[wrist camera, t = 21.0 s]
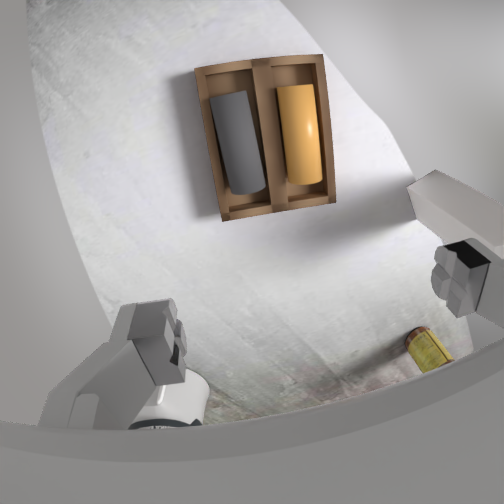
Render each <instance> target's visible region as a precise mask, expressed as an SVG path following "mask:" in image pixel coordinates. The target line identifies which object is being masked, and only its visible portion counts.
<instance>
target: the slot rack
mask: <svg viewBox="0 0 504 504" xmlns="http://www.w3.org/2000/svg"><path fill="white" fill-rule="evenodd" d="M194 70H195V76H196V82H197V88H198V93H199V99H200V105H201V111H202V116H203V122H204V127H205V133H206V138H207V144H208V149H209V155H210V160H211V165H212V171H213V176H214V181H215V187H216V192H217V197H218V202H219V207H220V213H221V218H222V222H224V221H229V220H235V219H241V218H246V217H252V216H258V215H263V214H269V213H275V212H281V211H287V210H293V209H299V208H305V207H311V206H318V205H324V204H331V203H336V187H335V169H334V155H333V142H332V130H331V119H330V109H329V100H328V91H327V82H326V74H325V66H324V59H323V54H314V55H294V56H281V57H269V58H260V59H251V60H243V61H236V62H229V63H222V64H216V65H210V66H205V67H199V68H194ZM310 84H313V88H314V96H315V104H316V113H317V123H318V133H319V143H320V155H321V167H322V180H321V181H320V182H317V183H314V184H307V185H297V184H292V183H289V182H288V174H287V166H286V157H285V149H284V140H283V132H282V125H281V117H280V109H279V102H278V95H277V88H276V87H286V86H297V85H310ZM241 91H246V92H247V96H248V101H249V106H250V110H251V115H252V120H253V125H254V130H255V134H256V139H257V144H258V149H259V154H260V159H261V164H262V169H263V174H264V179H265V184H266V186H265V188H263V189H262V190H260V191H258V192H255V193H251V194H246V195H234V194H232V193H231V190H230V185H229V181H228V177H227V173H226V168H225V164H224V160H223V156H222V151H221V147H220V143H219V139H218V134H217V130H216V126H215V121H214V117H213V113H212V109H211V104H210V100H209V98H213V97H217V96H222V95H226V94H231V93H236V92H241Z"/></svg>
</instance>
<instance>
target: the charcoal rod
mask: <svg viewBox="0 0 504 504" xmlns="http://www.w3.org/2000/svg"><path fill="white" fill-rule="evenodd" d="M209 100H210V104H211V109H212V113H213V117H214V121H215V126H216V130H217V134H218V139H219V143H220V147H221V151H222V156H223V160H224V164H225V168H226V173H227V177H228V181H229V185H230V190H231V193H232V194H234V195H246V194H251V193H255V192H258V191H260V190H262V189H263V188H265V186H266V184H265V179H264V174H263V169H262V164H261V159H260V154H259V149H258V144H257V139H256V134H255V130H254V125H253V120H252V115H251V110H250V106H249V101H248V96H247V92H246V91H241V92H236V93H231V94H226V95H222V96H217V97H213V98H209Z"/></svg>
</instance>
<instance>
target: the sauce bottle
mask: <svg viewBox="0 0 504 504" xmlns="http://www.w3.org/2000/svg"><path fill="white" fill-rule="evenodd" d="M405 345H406V348H407V349H408V352H409V354H410V355H411V356H412V358H413V359H414V361H415V362H416V364H417V365H418V367H419V369H420V370H421V371H422V373H426V372H428V371H431V370H433V369H436V368H439V367H441V366H443V365H446V364H448V363H451V362H453V361H455V360H454V359H453V358H452V356H451V355H450V354H449V353H448V351H447V350H446V349H445V347H444V346H443V345H442V344H441V342H440V341H439V340H438V338H437V337H436V336H435V335H434V334H433V332H432V331H430V329H429V328H427V327H419V328H417V329H415V330H414V331H412V332H411V333H410V334H409V335H408V337H407V339H406V342H405Z"/></svg>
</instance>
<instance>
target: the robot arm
mask: <svg viewBox="0 0 504 504" xmlns="http://www.w3.org/2000/svg"><path fill="white" fill-rule="evenodd" d="M434 259H435V261H436V263H437V264H436V266H435V267H434V269H433V270H432V276H431V283H432V288H433V290H434V292H435V294H436V295H437V296H438V297H439V298H441V299H443V300H446V306H447V307H448V309H449V310H450V311H451V312H452V313H453V314H454V315H455V317H456V318H459V317H462V316H465V315H468V314H471V313H474V312H476V313H477V314H479V315H480V316H482V317H484V318H486V319H488V320H489V321H491V322H493V323H495V324H496V325H498V326H500V327H502V328H504V259H501V258H500V257H499V256H498V255H496V254H495V253H494V252H493V251H491V250H490V249H489V248H487V247H486V246H485V245H483V244H482V243H481V242H479V241H478V240H477V239H475V238H468V239H465V240H461V241H459V242H455V243H451V244H447V245H443V246H439V247H437V249H436V251H435V257H434ZM186 353H187V342H186V335H185V331H184V327H183V324H182V322H181V321H179V320H178V319H177V308H176V305H175V302H174V300H173V299H172V298H169V299H162V300H154V301H147V302H140V303H132V304H126V305H123V306H121V307H120V310H119V313H118V316H117V318H116V321H115V324H114V327H113V330H112V333H111V336H110V339H109V342H106V343H103V344H102V345H101V346H100V347H99V348H98V349H96V350H95V351H94V352H93V353H92V354H91V355H90V356H89V357H88V358H86V359H85V360H84V361H83V362H82V363H81V364H80V365H79V366H78V367H76V368H75V369H74V370H73V371H72V372H71V373H70V374H69V375H68V376H67V377H66V378H65V379H63V380H62V381H61V382H60V383H59V384H58V385H57V386H56V387H55V388H53V389H52V390H51V391H50V392H49V395H48V397H47V400H46V403H45V406H44V408H43V411H42V414H41V417H40V420H39V423H38V426H36V425H27V424H19V423H13V422H6V421H0V504H504V338H502V339H500V340H498V341H497V342H494V343H492V344H490V345H488V346H486V347H484V348H482V349H480V350H478V351H476V352H473V353H471V354H469V355H467V356H465V357H462V358H460V359H458V360H455V361H453V362H451V363H448V364H446V365H443V366H441V367H439V368H436V369H433V370H431V371H428V372H426V373H423V374H420V375H418V376H415V377H412V378H410V379H407V380H404V381H401V382H398V383H395V384H392V385H389V386H386V387H383V388H380V389H377V390H373V391H370V392H367V393H364V394H360V395H357V396H353V397H350V398H346V399H342V400H338V401H335V402H331V403H327V404H323V405H319V406H314V407H310V408H306V409H301V410H296V411H292V412H287V413H282V414H277V415H271V416H266V417H260V418H254V419H247V420H241V421H234V422H226V423H219V424H210V425H203V417H204V410H205V406H206V402H207V399H208V396H209V393H210V390H209V386H208V384H207V382H206V381H205V380H204V379H203V378H202V377H201V376H200V375H198V374H197V373H195V372H193V371H191V370H189V369H186V363H185V361H184V359H183V357H184V356H185V355H186Z"/></svg>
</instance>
